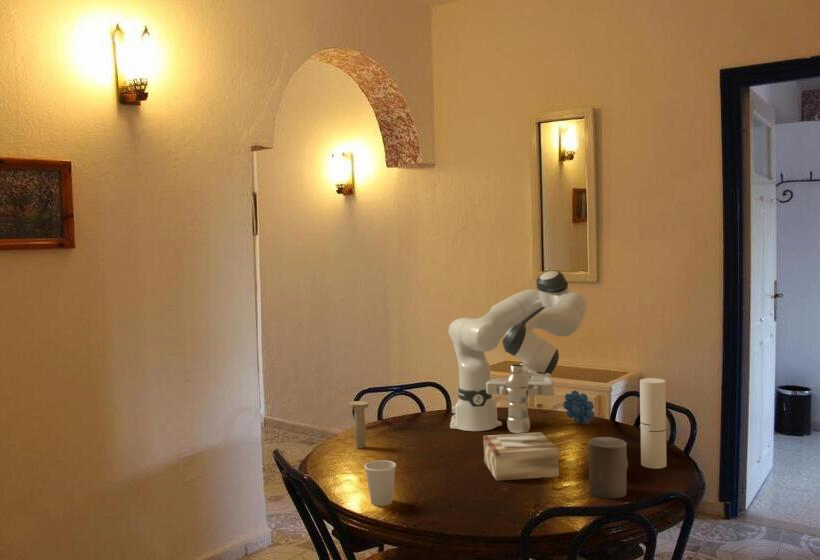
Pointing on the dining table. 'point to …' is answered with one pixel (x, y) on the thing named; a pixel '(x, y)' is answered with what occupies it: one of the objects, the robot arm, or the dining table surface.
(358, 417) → the handle
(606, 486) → the pillar candle
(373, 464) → the dixie cup
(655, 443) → the cylindrical container
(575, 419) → the grapes
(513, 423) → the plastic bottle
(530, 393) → the robot arm
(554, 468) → the riser block
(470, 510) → the dining table surface
